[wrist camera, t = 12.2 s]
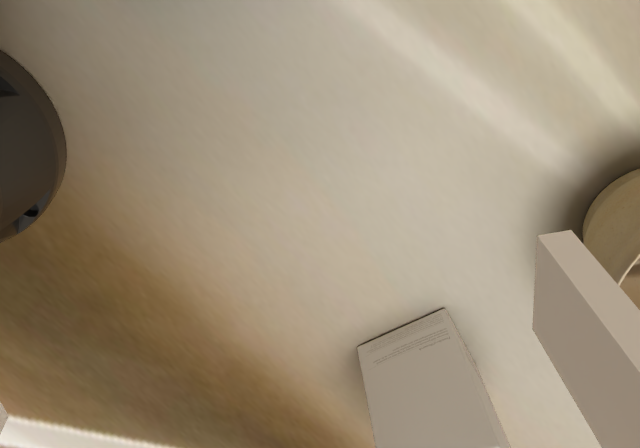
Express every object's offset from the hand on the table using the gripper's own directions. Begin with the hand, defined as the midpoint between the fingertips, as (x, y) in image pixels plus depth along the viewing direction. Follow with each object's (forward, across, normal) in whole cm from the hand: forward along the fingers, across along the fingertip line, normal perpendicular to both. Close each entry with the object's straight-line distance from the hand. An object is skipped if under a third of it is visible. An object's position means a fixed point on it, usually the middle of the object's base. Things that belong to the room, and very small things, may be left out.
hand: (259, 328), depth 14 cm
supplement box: (+30, +8, -31) cm, 44 cm away
